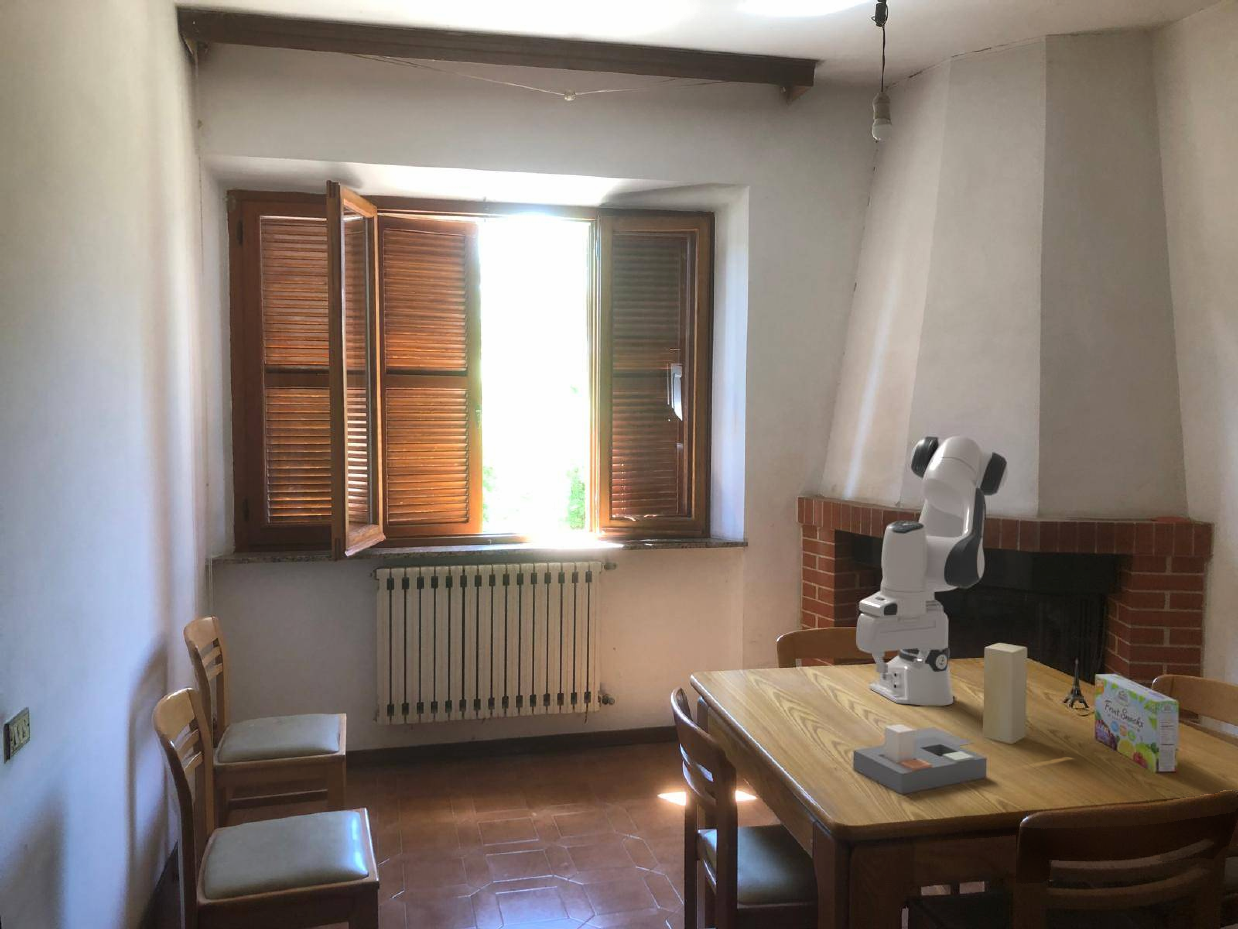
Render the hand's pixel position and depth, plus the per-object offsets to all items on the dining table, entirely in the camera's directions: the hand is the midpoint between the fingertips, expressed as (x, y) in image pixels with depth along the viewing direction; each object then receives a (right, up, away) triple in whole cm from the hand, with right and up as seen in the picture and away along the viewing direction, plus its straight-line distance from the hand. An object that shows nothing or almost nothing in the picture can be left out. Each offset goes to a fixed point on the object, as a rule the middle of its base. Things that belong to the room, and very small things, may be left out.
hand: (900, 670), depth 184 cm
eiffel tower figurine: (+60, -21, +49) cm, 80 cm away
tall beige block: (+30, -21, +23) cm, 43 cm away
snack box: (+55, -22, +13) cm, 60 cm away
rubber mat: (+14, -21, +21) cm, 32 cm away
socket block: (+4, -21, +1) cm, 22 cm away
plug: (-1, -21, -1) cm, 21 cm away
